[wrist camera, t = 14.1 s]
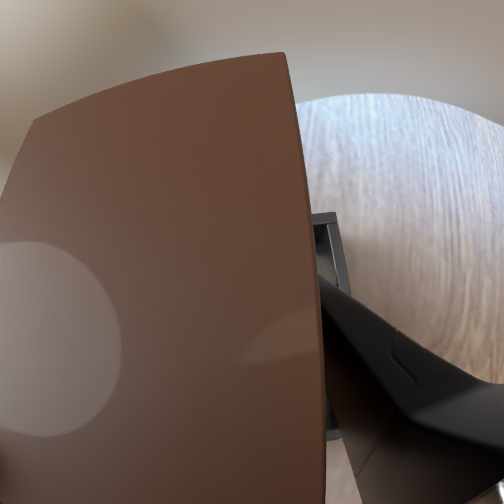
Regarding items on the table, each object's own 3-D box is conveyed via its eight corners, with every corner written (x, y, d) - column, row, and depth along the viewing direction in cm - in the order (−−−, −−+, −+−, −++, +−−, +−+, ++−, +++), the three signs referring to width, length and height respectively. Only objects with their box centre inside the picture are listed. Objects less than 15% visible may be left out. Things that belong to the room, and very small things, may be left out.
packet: (305, 414, 14) (317, 595, 1) (211, 415, 15) (-17, 491, 2) (299, 287, 17) (284, 50, 4) (210, 292, 18) (33, 119, 5)
